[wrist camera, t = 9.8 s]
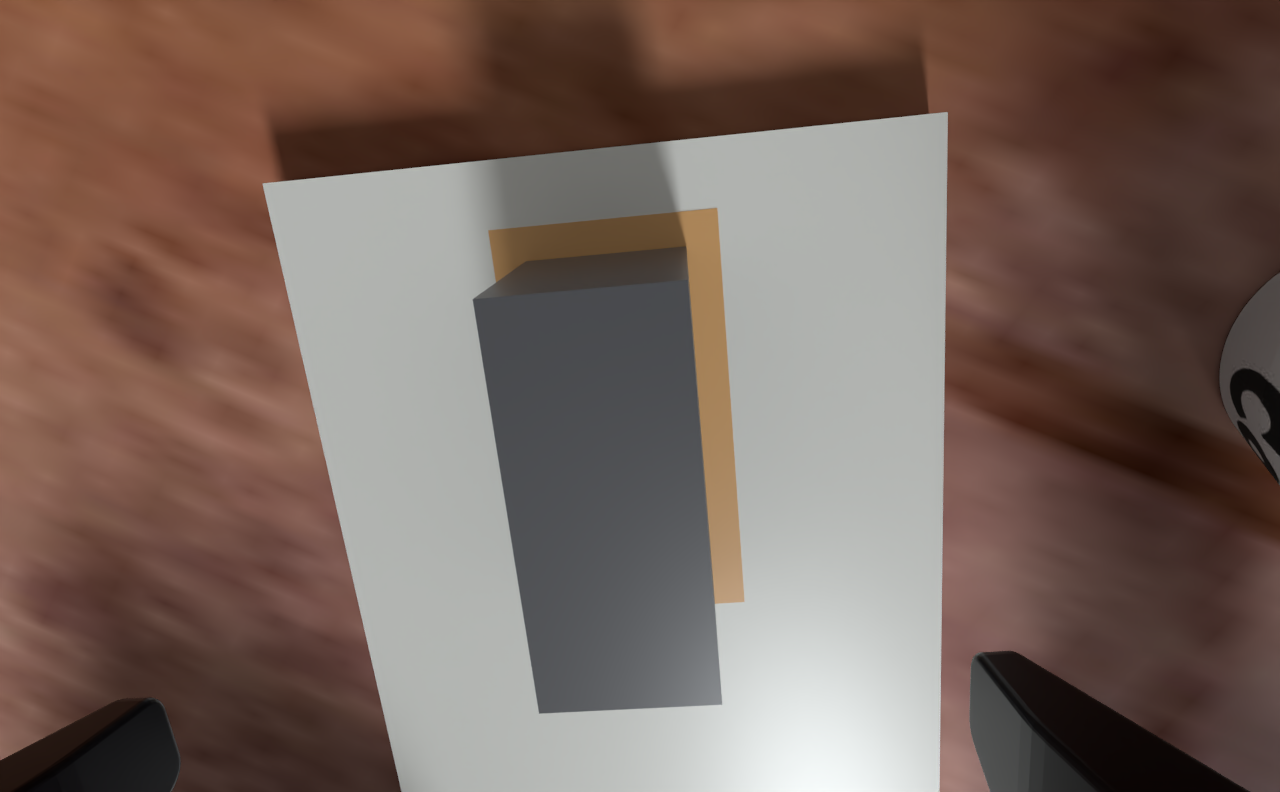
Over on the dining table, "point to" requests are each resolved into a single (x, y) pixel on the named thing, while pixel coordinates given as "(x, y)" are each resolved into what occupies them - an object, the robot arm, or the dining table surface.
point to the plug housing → (604, 478)
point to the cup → (1255, 375)
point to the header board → (731, 439)
